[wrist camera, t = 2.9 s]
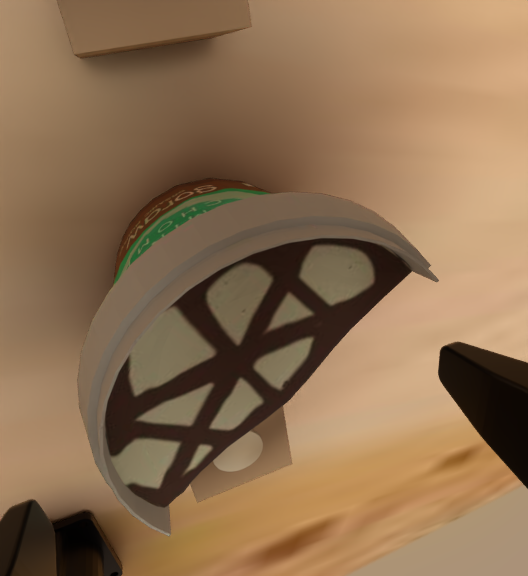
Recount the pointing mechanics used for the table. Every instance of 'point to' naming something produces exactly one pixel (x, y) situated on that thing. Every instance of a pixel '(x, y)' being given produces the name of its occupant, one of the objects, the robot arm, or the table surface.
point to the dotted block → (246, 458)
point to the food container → (222, 325)
